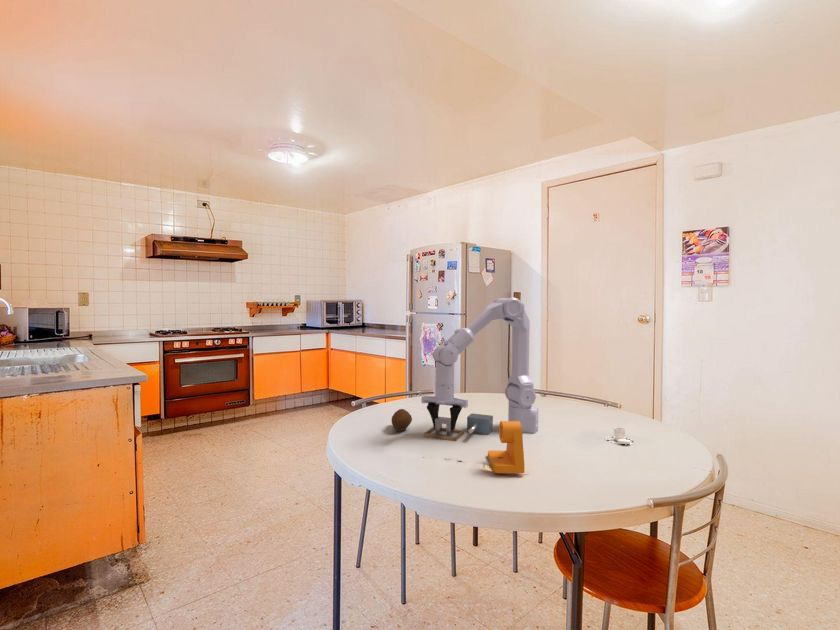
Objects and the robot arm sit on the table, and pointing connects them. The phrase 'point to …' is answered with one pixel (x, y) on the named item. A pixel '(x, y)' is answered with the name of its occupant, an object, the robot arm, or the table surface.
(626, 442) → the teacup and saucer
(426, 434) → the tray
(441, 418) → the block
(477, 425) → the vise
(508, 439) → the bracket
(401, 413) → the potato
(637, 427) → the table surface
